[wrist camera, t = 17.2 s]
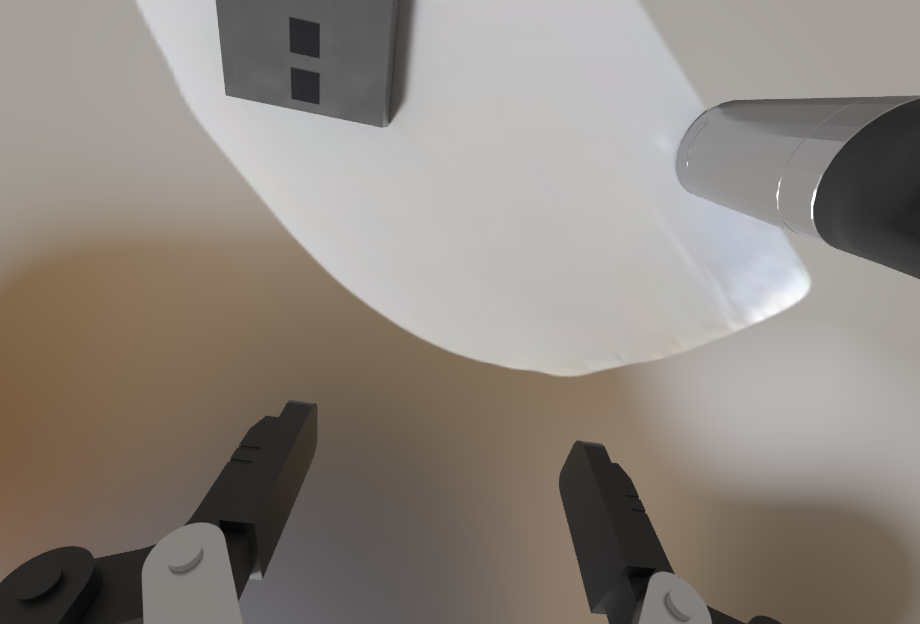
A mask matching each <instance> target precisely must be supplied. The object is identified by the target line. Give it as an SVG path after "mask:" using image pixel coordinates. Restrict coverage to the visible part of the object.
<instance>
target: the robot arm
mask: <svg viewBox="0 0 920 624" xmlns="http://www.w3.org/2000/svg"><path fill="white" fill-rule="evenodd" d="M676 169H677V175H678V178H679V181H680V182H681V184H682V185H683V187H684V188H685V189H686V190H687V191H688V192H690V193H692V194H694V195H696V196H698V197H701V198H704V199H706V200H709V201H712V202H714V203H717V204H719V205H722V206H724V207H727V208H730V209H732V210H735V211H738V212H740V213H743V214H746V215H748V216H751V217H754V218H756V219H759V220H762V221H764V222H767V223H770V224H772V225H775V226H778V227H780V228H783V229H786V230H789V231H791V232H794V233H797V234H800V235H802V236H805V237H808V238H810V239H813V240H816V241H819V242H821V243H824V244H826V245H829V246H832V247H834V248H836V249H840V250H842V251H845V252H848V253H850V254H853V255H856V256H859V257H862V258H865V259H868V260H871V261H873V262H876V263H879V264H882V265H884V266H887V267H890V268H892V269H895V270H897V271H900V272H903V273H905V274H908V275H911V276H913V277H916V278H918V279H920V96H885V97H854V98H812V99H774V100H773V99H770V100H769V99H764V100H733V101H729V102H725V103H722V104H720V105H718V106H715V107H713V108H711V109H710V110H709V111H707V112H706V113H704V114H703V115H702V116H701V117H700V118H698V119H697V120H696V121H695V122H694V123H693V125H692V126H691V127H690V129H689V130H688V131H687V133H686V134H685V136H684V138H683V140H682V142H681V144H680V147H679V150H678V153H677V160H676ZM316 446H317V404H316V403H308V402H302V401H294V400H290V401H289V402H288V403H287V404H286V406H285V407H284V409H283V411H282V413H281V415H280V416H279V417H271V416H265V417H264V418H263V419H262V420H260V421H259V422H258V423H256V424H255V425H254V426H253V427H251V428H250V429H249V431H248V432H247V434H246V435H245V437H244V438H243V440H242V441H241V443H240V444H239V448H237V449H236V450H235V452H234V454H233V455H232V457H231V458H230V462H228V463H227V464H226V466H225V467H224V469H223V470H222V472H221V474H220V475H219V476H218V478H217V480H216V481H215V482H214V484H213V486H212V487H211V489H210V490H209V492H208V493H207V495H206V496H205V498H204V499H203V501H202V502H201V504H200V505H199V507H198V508H197V510H196V512H195V513H194V515H193V516H192V517H191V519H190V520H189V521H188V522H187V523H186V524H185V525H184V526H183V527H181V528H179V529H177V530H175V531H173V532H172V533H170V534H168V535H167V536H166V537H164V538H163V539H162V540H161V541H160V542H159V543H157V544H155V545H152V546H150V547H147V548H143V549H139V550H134V551H130V552H125V553H120V554H115V555H110V556H105V557H101V558H96V559H94V557H93V556H92V554H91V553H90V552H89V551H88V550H86V549H84V548H82V547H76V546H68V547H61V548H57V549H54V550H50V551H48V552H45V553H43V554H40V555H38V556H36V557H34V558H32V559H30V560H29V561H27V562H25V563H24V564H22V565H21V566H19V567H18V568H17V569H15V570H14V571H13V572H11V573H10V574H9V575H8V576H7V577H6V578H5V579H4V580H3V581H2V582H1V583H0V624H243V621H242V617H241V611H240V607H239V602H238V601H239V599H240V597H241V594H242V592H243V590H244V588H245V585H246V584H247V581H248V579H257V580H262V579H263V577H264V574H265V572H266V570H267V567H268V565H269V563H270V560H271V558H272V556H273V553H274V551H275V548H276V546H277V544H278V541H279V539H280V537H281V534H282V532H283V529H284V527H285V525H286V522H287V520H288V517H289V515H290V513H291V510H292V508H293V506H294V503H295V501H296V498H297V496H298V494H299V491H300V489H301V486H302V484H303V482H304V479H305V477H306V475H307V472H308V470H309V467H310V465H311V463H312V460H313V457H314V454H315V450H316ZM559 490H560V494H561V498H562V502H563V506H564V510H565V514H566V518H567V522H568V525H569V529H570V533H571V537H572V541H573V544H574V548H575V553H576V556H577V560H578V564H579V568H580V571H581V576H582V580H583V584H584V588H585V591H586V595H587V599H588V603H589V607H590V611H591V613H597V614H607V618H608V621H609V624H745V623H743V622H741V621H739V620H736V619H734V618H732V617H730V616H728V615H726V614H723V613H721V612H719V611H717V610H715V609H713V608H710V607H709V606H707V605H705V603H704V601H703V600H702V598H701V597H700V595H699V594H698V593H697V592H696V591H695V590H694V588H693V587H692V586H690V585H689V584H688V583H687V582H686V581H685V580H683V579H682V578H680V577H678V576H676V575H675V573H674V572H673V570H672V568H671V566H670V563H669V561H668V559H667V557H666V555H665V552H664V550H663V548H662V546H661V544H660V541H659V539H658V537H657V535H656V533H655V531H654V528H653V526H652V524H651V522H650V520H649V517H648V515H647V514H645V509H644V506H643V504H642V502H641V500H639V496H638V493H637V491H636V489H635V487H634V485H633V482H632V480H631V479H630V477H629V476H628V475H627V474H626V473H625V471H624V470H623V469H622V468H621V467H620V466H619V464H617V463H611V460H610V458H609V456H608V453H607V451H606V449H605V447H604V446H603V445H602V444H600V443H593V442H586V441H576V442H575V443H574V445H573V447H572V449H571V451H570V453H569V455H568V457H567V460H566V461H565V464H564V466H563V468H562V470H561V473H560V477H559ZM746 624H781V623H779V622H778V621H776V620H774V619H772V618H770V617H766V616H756V617H754V618H752V619H751V620H750V621H749V622H748V623H746Z"/></svg>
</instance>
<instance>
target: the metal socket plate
mask: <svg viewBox="0 0 920 624" xmlns="http://www.w3.org/2000/svg"><path fill="white" fill-rule="evenodd" d="M398 3H399V0H216V7H217V16H218V26H219V35H220V45H221V54H222V64H223V73H224V83H225V92H226V95H227V96H232V97H237V98H242V99H246V100H251V101H256V102H261V103H266V104H271V105H276V106H280V107H285V108H290V109H295V110H300V111H305V112H310V113H314V114H319V115H324V116H329V117H334V118H339V119H343V120H348V121H353V122H358V123H363V124H368V125H373V126H377V127H382V128H383V127H387V126H388V124H389V112H390V100H391V87H392V75H393V63H394V51H395V39H396V27H397V15H398Z"/></svg>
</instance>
